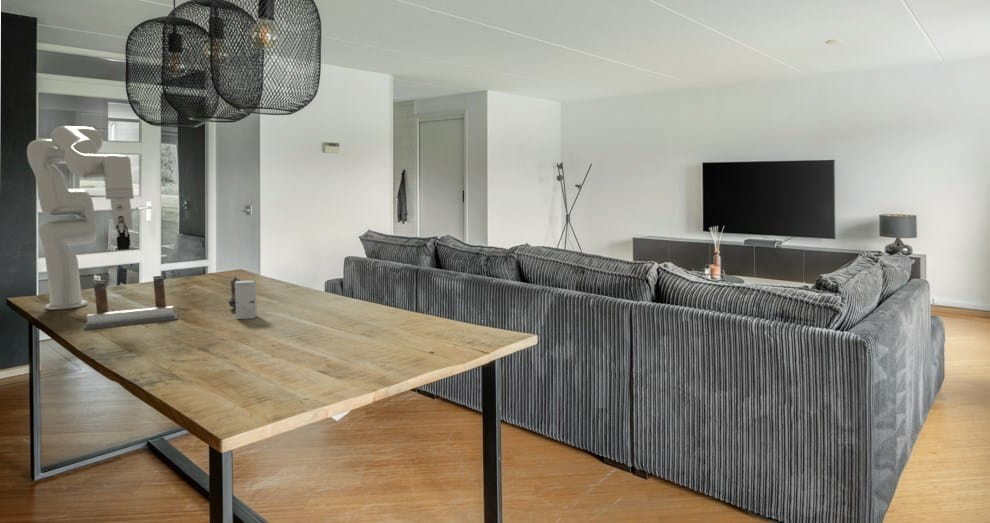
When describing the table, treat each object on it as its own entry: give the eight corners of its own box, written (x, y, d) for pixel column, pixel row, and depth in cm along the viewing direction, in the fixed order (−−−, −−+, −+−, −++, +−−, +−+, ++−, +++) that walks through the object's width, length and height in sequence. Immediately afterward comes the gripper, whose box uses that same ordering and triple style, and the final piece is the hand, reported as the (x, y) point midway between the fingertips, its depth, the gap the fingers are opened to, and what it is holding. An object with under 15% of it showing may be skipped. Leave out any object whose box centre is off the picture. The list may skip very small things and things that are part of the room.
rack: (97, 321, 204) (93, 283, 202) (98, 317, 209) (95, 280, 207) (166, 313, 213) (163, 277, 212) (166, 310, 218) (163, 275, 217)
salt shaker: (242, 311, 215) (239, 277, 214) (225, 312, 215) (222, 277, 214) (249, 308, 221) (247, 274, 219) (232, 308, 221) (230, 274, 220)
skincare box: (235, 319, 204) (233, 283, 202) (238, 316, 208) (235, 280, 206) (255, 318, 205) (253, 282, 203) (257, 315, 209) (255, 279, 208)
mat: (83, 330, 192) (83, 328, 192) (86, 323, 201) (86, 321, 201) (177, 319, 204) (177, 317, 204) (176, 314, 213) (176, 312, 213)
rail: (87, 325, 195) (86, 316, 195) (88, 323, 198) (87, 314, 198) (173, 316, 207) (173, 307, 206) (173, 314, 209) (172, 305, 209)
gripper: (132, 195, 193) (137, 250, 195) (134, 193, 208) (138, 244, 210) (103, 195, 189) (108, 251, 192) (107, 193, 204) (112, 245, 207)
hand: (124, 247), depth 201 cm, fingers open, 9 cm apart
